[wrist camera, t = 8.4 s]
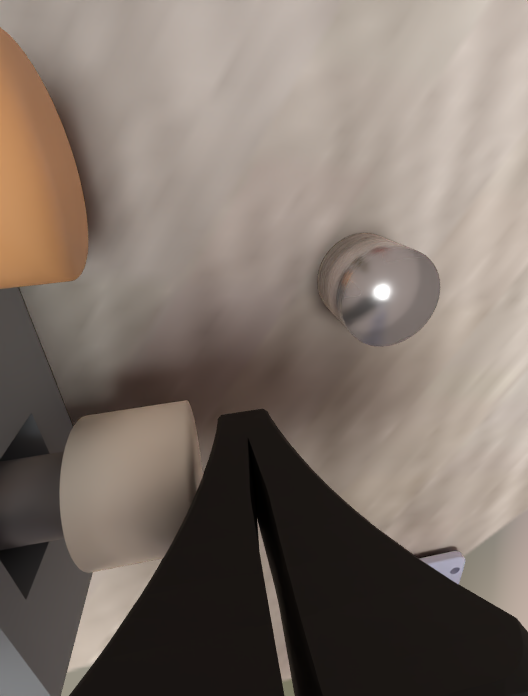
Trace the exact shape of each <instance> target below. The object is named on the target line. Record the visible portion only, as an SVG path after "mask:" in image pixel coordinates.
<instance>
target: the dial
mask: <svg viewBox="0 0 528 696" xmlns="http://www.w3.org/2000/svg"><path fill="white" fill-rule="evenodd" d="M317 284H318V291H319V294H320V297H321V299H322V301H323V302H324V304H325V305H326V306H327V307H328V309H329V310H330V311H331V312H332V313H333V314H334V315H335V316H336V317H337V318H338V320H339V321H340V322H341V323H342V324H343V325H344V326H345V327H346V328H347V329H348V331H349V332H350V333H351V334H352V335H353V336H354V337H355V338H357V339H358V340H359V341H361V342H363V343H365V344H368V345H372V346H389V345H394V344H397V343H400V342H402V341H404V340H406V339H408V338H410V337H411V336H413V335H414V334H415V333H417V332H418V331H419V330H420V329H421V328H422V327H423V326H424V325H425V324H426V323H427V321H428V320H429V319H430V317H431V315H432V314H433V312H434V310H435V308H436V305H437V302H438V299H439V294H440V279H439V275H438V272H437V269H436V267H435V265H434V264H433V263H432V261H431V260H430V259H429V258H428V257H427V256H426V255H424V254H422V253H421V252H418V251H416V250H414V249H411V248H409V247H406V246H403V245H401V244H398V243H396V242H393V241H391V240H388V239H386V238H383V237H381V236H378V235H375V234H371V233H359V234H354V235H351V236H348V237H346V238H344V239H342V240H341V241H339V242H338V243H337V244H335V245H334V246H333V247H332V248H331V249H330V250H329V252H328V253H327V254H326V256H325V257H324V259H323V261H322V263H321V266H320V269H319V272H318V281H317Z"/></svg>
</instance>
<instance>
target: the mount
mask: <svg viewBox="0 0 528 696" xmlns="http://www.w3.org/2000/svg"><path fill="white" fill-rule="evenodd" d="M72 428H73V426H72V423H71V420H70V418H69V415H68V413H67V410H66V408H65V405H64V403H63V400H62V398H61V395H60V392H59V390H58V387H57V385H56V382H55V380H54V377H53V375H52V372H51V370H50V367H49V365H48V362H47V359H46V357H45V354H44V352H43V349H42V347H41V344H40V342H39V339H38V337H37V334H36V331H35V329H34V326H33V324H32V321H31V319H30V316H29V314H28V311H27V309H26V306H25V304H24V301H23V298H22V296H21V293H20V291H19V288H18V287H13V288H5V289H0V462H1V461H7V460H14V459H20V458H26V457H32V456H39V455H45V454H51V453H57V452H63V451H64V450H65V446H66V443H67V439H68V437H69V434H70V432H71V430H72ZM92 573H93V572H90V573H86V572H83V571H82V570H80V569H79V568H78V567H77V566H76V565H75V563H74V561H73V560H72V558H71V556H70V553H69V551H68V548H67V545H66V542H65V538H64V539H59V540H53V541H48V542H43V543H37V544H32V545H27V546H21V547H16V548H10V549H5V550H0V696H61V692H62V689H63V685H64V681H65V677H66V673H67V669H68V665H69V661H70V658H71V654H72V650H73V646H74V642H75V638H76V634H77V631H78V627H79V623H80V619H81V615H82V611H83V607H84V604H85V600H86V596H87V592H88V588H89V584H90V580H91V577H92Z"/></svg>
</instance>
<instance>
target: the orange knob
mask: <svg viewBox="0 0 528 696" xmlns="http://www.w3.org/2000/svg"><path fill="white" fill-rule="evenodd" d="M87 254H88V224H87V215H86V208H85V202H84V196H83V191H82V187H81V182H80V178H79V174H78V171H77V167H76V163H75V160H74V157H73V154H72V150H71V147H70V144H69V141H68V139H67V136H66V133H65V130H64V128H63V125H62V123H61V120H60V118H59V115H58V113H57V111H56V109H55V106H54V104H53V102H52V100H51V98H50V96H49V94H48V92H47V89H46V88H45V86H44V84H43V82H42V80H41V78H40V76H39V75H38V73H37V71H36V70H35V68H34V66H33V65H32V63H31V62H30V60H29V59H28V57H27V56H26V54H25V53H24V52H23V50H22V49H21V48H20V46H19V45H18V44H17V43H16V42H15V41H14V39H13V38H12V37H11V36H10V35H9V34H8V33H7V32H5V31H4V30H3V29H2V28H1V27H0V289H5V288H13V287H22V286H31V285H40V284H49V283H58V282H67V281H73V280H75V279H77V278H78V277H79V276H80V275H81V274H82V272H83V270H84V267H85V264H86V260H87Z"/></svg>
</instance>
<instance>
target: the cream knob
mask: <svg viewBox="0 0 528 696" xmlns="http://www.w3.org/2000/svg"><path fill="white" fill-rule="evenodd" d="M202 477H203V471H202V463H201V455H200V448H199V441H198V435H197V430H196V425H195V420H194V416H193V412H192V409H191V406H190V403H189V402H188V401H187V400H185V401H179V402H172V403H165V404H159V405H152V406H146V407H139V408H132V409H126V410H119V411H112V412H106V413H99V414H93V415H86V416H83V417H81V418H80V419H79V420H78V421H77V422H76V423H75V425H74V426H73V428H72V430H71V432H70V434H69V437H68V439H67V443H66V446H65V450H64V451H63V452H57V453H51V454H45V455H39V456H32V457H26V458H20V459H14V460H7V461H1V462H0V550H5V549H10V548H16V547H21V546H27V545H32V544H37V543H43V542H48V541H53V540H59V539H64V538H65V542H66V545H67V548H68V551H69V553H70V556H71V558H72V560H73V561H74V563H75V565H76V566H77V567H78V568H79V569H80V570H82V571H83V572H86V573H90V572H96V571H101V570H106V569H111V568H116V567H121V566H126V565H132V564H137V563H142V562H147V561H152V560H157V559H162V558H164V556H165V554H166V552H167V551H168V549H169V547H170V545H171V544H172V542H173V540H174V538H175V536H176V534H177V532H178V530H179V528H180V526H181V524H182V522H183V520H184V518H185V516H186V514H187V512H188V510H189V508H190V505H191V503H192V501H193V498H194V496H195V494H196V491H197V489H198V487H199V484H200V482H201V479H202Z"/></svg>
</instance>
